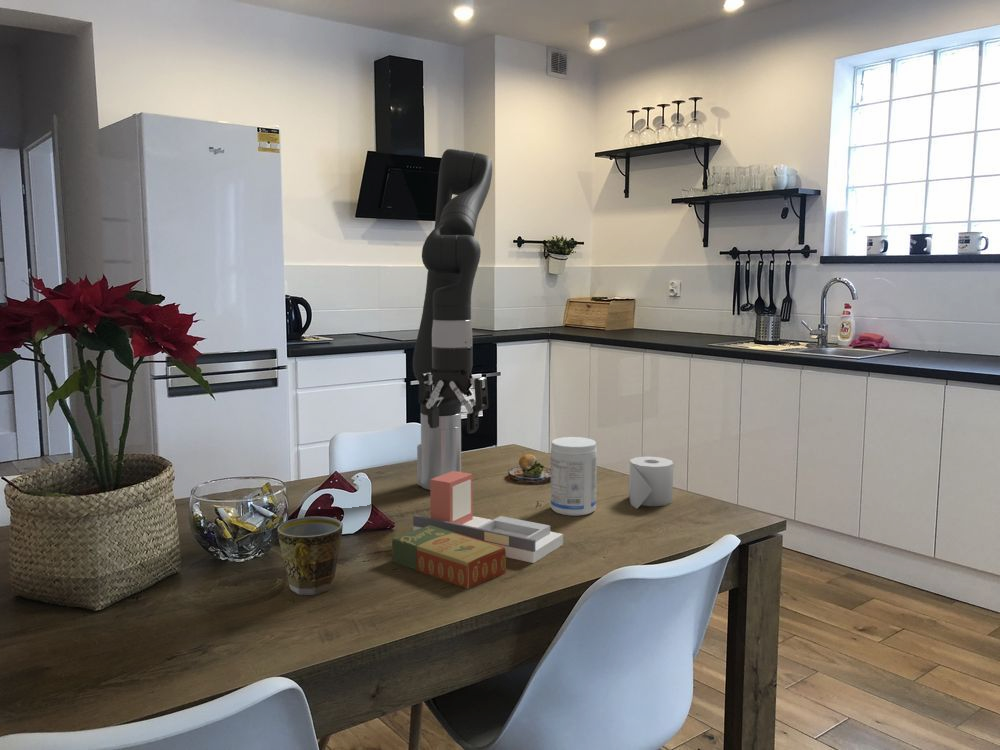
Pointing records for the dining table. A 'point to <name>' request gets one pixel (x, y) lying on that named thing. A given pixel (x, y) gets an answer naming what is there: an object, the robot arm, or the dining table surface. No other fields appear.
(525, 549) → the shelf strip
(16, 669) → the dining table surface
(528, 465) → the burger
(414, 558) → the carton
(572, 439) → the supplement tub
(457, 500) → the tea box
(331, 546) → the ceramic cup
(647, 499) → the toilet tissue
